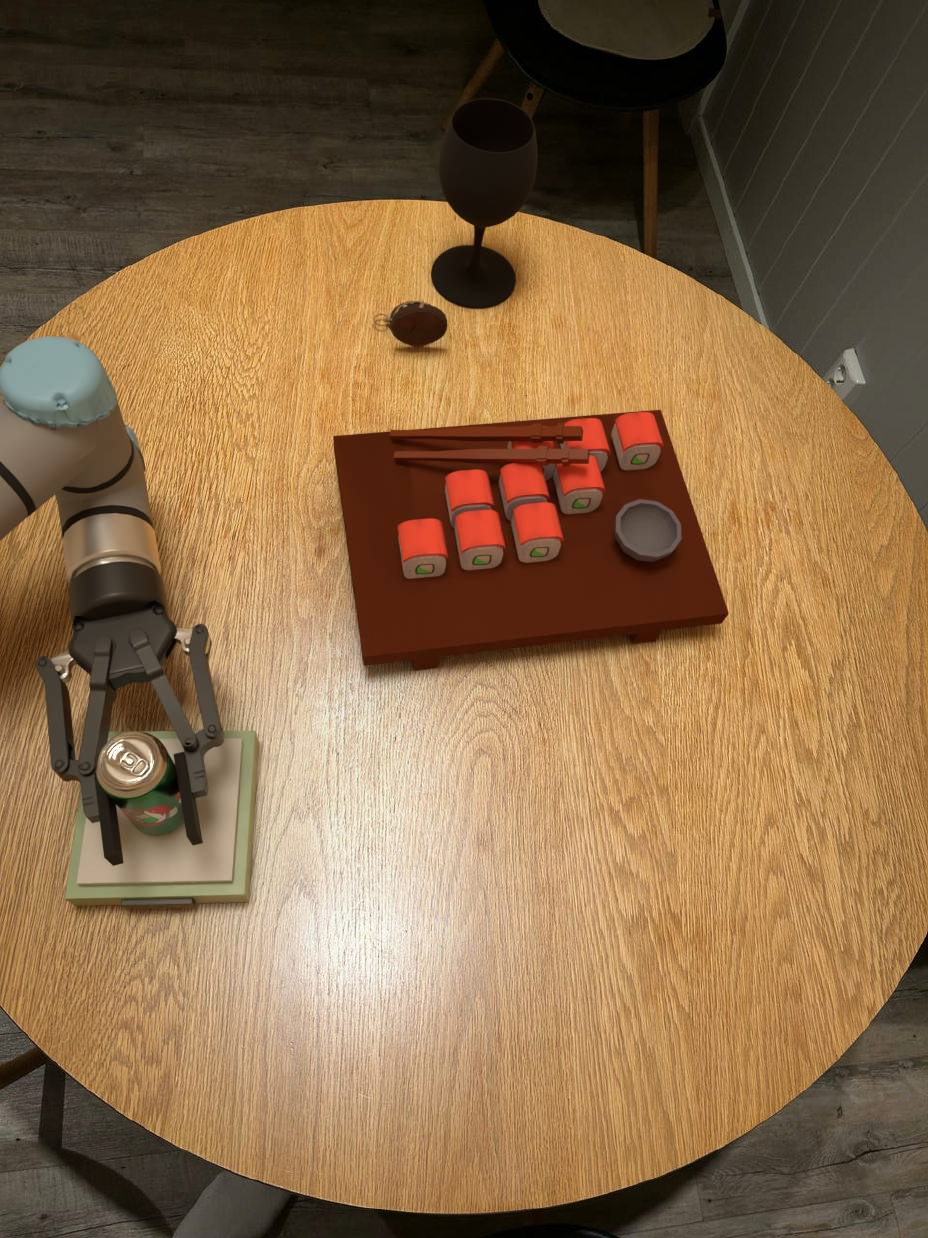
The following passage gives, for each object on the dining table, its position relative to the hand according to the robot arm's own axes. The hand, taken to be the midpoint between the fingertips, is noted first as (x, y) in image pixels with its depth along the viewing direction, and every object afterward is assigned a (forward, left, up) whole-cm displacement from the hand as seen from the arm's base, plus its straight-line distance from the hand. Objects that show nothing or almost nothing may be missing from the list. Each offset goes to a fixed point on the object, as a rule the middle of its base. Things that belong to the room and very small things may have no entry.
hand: (154, 849), depth 69 cm
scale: (-1, +5, -11) cm, 12 cm away
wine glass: (+28, +71, -11) cm, 77 cm away
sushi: (+31, +33, -11) cm, 46 cm away
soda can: (-1, +5, -7) cm, 9 cm away
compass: (+20, +62, -11) cm, 66 cm away
